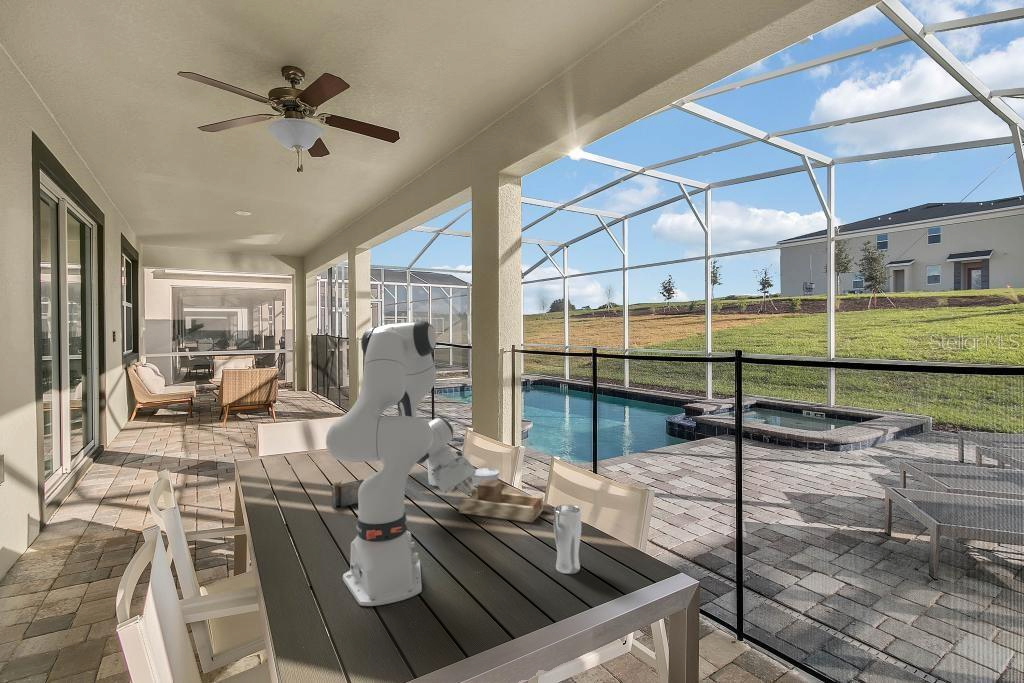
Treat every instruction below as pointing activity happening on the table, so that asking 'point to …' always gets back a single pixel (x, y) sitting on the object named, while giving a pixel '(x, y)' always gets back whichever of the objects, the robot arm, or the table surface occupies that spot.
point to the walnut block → (490, 491)
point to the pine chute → (504, 507)
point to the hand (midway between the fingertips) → (470, 493)
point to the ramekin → (484, 475)
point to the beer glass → (567, 537)
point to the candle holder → (430, 476)
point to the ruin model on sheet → (345, 493)
